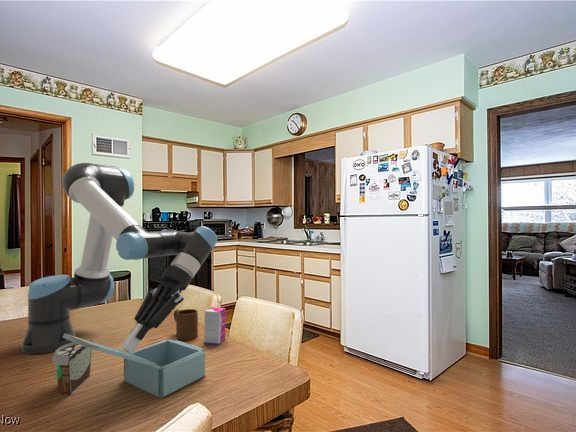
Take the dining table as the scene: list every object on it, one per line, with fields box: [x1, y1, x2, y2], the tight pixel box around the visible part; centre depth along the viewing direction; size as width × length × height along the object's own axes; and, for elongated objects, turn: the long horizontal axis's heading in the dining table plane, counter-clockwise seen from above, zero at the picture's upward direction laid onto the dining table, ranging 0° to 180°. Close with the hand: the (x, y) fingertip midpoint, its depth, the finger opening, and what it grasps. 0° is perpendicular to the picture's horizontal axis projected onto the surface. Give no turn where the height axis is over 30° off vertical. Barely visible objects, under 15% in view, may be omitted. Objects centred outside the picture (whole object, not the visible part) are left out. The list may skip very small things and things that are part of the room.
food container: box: [52, 339, 93, 396], centre depth 87 cm, size 12×6×10 cm, turn 5°
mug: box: [173, 308, 199, 341], centre depth 124 cm, size 12×8×9 cm, turn 51°
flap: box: [63, 334, 156, 367], centre depth 79 cm, size 1×12×18 cm
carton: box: [123, 338, 206, 399], centre depth 91 cm, size 15×17×7 cm
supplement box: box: [203, 306, 227, 346], centre depth 118 cm, size 6×6×12 cm
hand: (126, 350), depth 82 cm, fingers closed
